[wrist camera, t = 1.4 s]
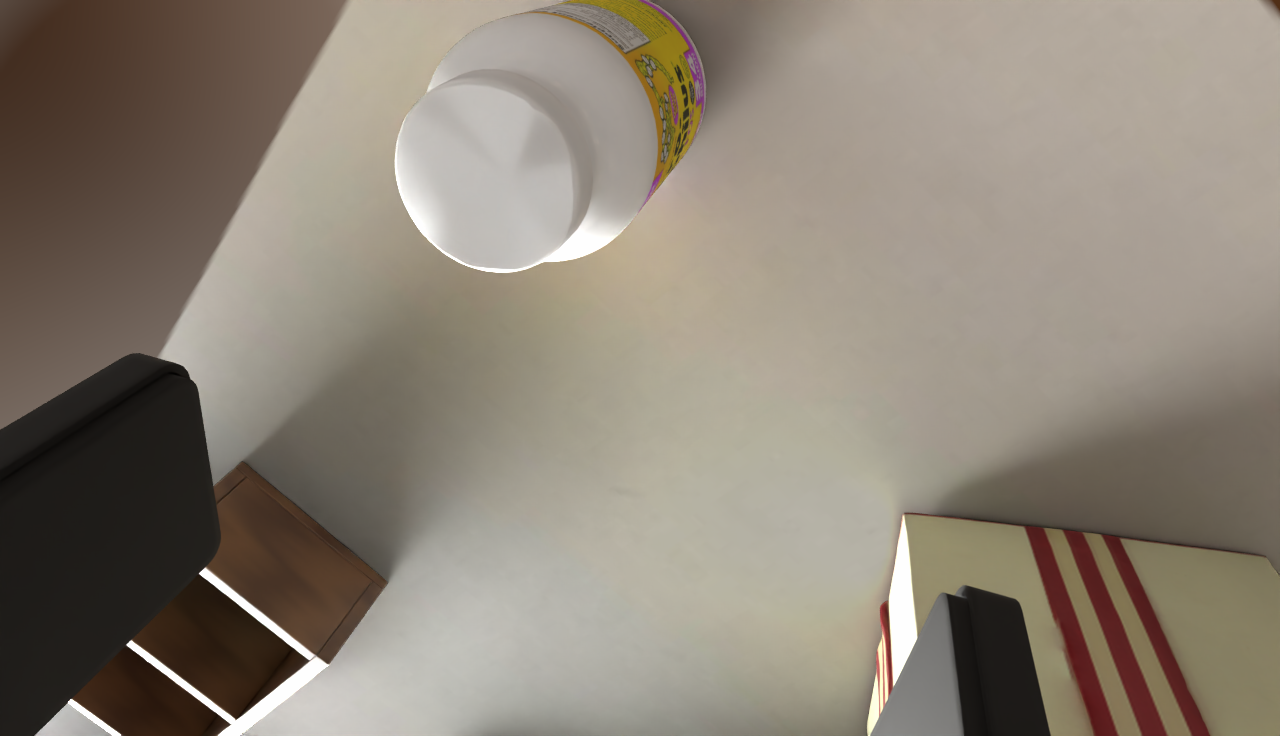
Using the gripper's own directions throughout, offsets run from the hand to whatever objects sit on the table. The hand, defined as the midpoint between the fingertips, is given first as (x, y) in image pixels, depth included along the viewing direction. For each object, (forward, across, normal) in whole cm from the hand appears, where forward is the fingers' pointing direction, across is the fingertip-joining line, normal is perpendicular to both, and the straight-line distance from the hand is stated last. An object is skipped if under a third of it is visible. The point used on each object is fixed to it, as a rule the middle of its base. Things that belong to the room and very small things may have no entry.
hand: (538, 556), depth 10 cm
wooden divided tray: (+23, +25, +35) cm, 49 cm away
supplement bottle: (+23, +5, -1) cm, 24 cm away
